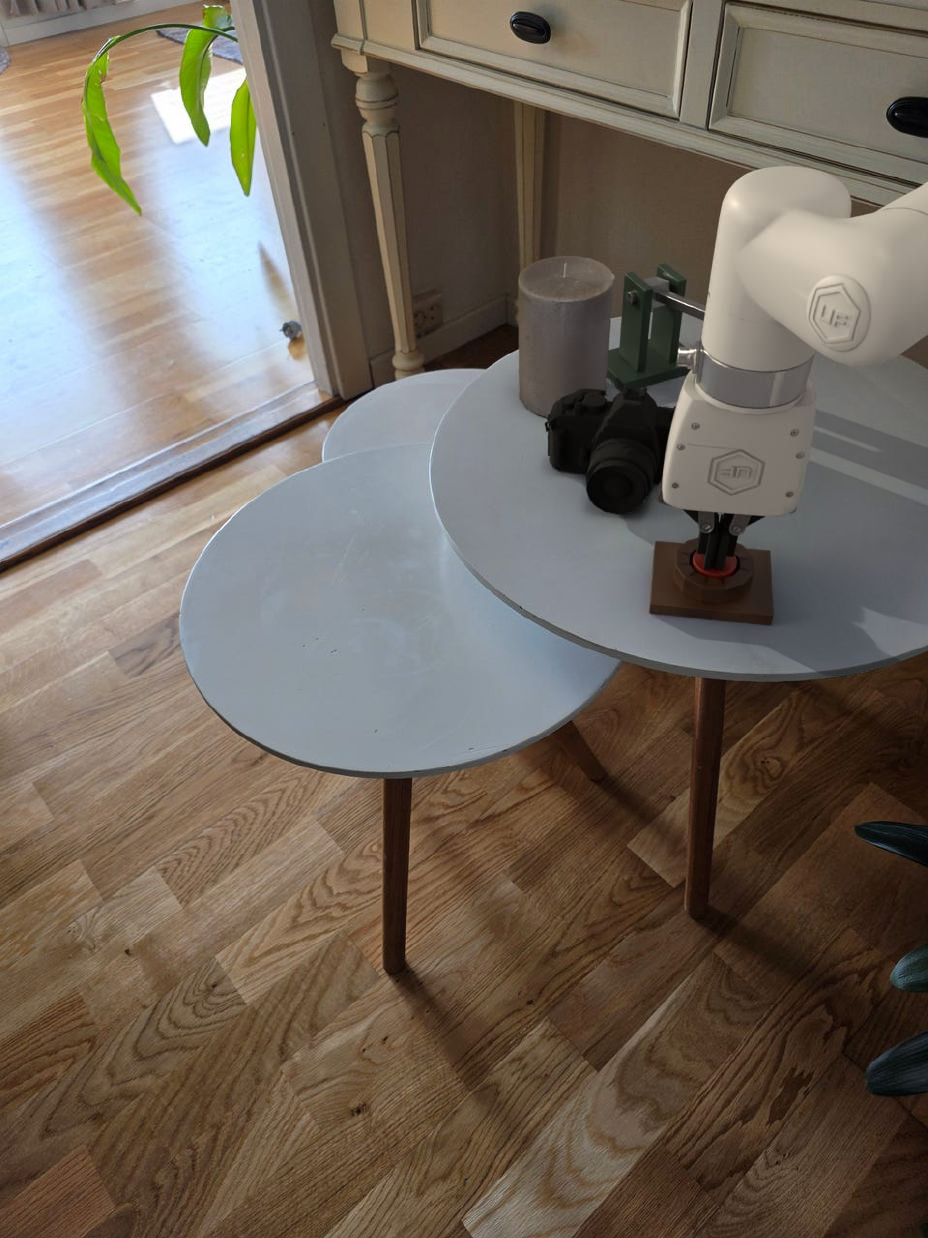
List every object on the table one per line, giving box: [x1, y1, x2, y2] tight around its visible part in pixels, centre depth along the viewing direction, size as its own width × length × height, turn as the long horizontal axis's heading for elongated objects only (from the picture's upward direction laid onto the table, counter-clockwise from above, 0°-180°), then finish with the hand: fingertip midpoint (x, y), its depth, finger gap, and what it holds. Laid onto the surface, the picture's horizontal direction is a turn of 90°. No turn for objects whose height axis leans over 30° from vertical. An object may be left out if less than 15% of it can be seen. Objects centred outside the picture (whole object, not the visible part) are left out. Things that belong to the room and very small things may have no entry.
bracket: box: [607, 262, 692, 393], centre depth 96 cm, size 7×10×11 cm
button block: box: [648, 537, 775, 626], centre depth 75 cm, size 10×8×3 cm
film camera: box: [544, 385, 676, 516], centre depth 83 cm, size 15×10×9 cm, turn 73°
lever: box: [642, 276, 706, 322], centre depth 88 cm, size 17×6×2 cm, turn 22°
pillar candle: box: [517, 255, 616, 418], centre depth 92 cm, size 10×10×15 cm
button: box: [692, 551, 737, 579], centre depth 74 cm, size 4×4×2 cm
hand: (713, 558), depth 74 cm, fingers closed
